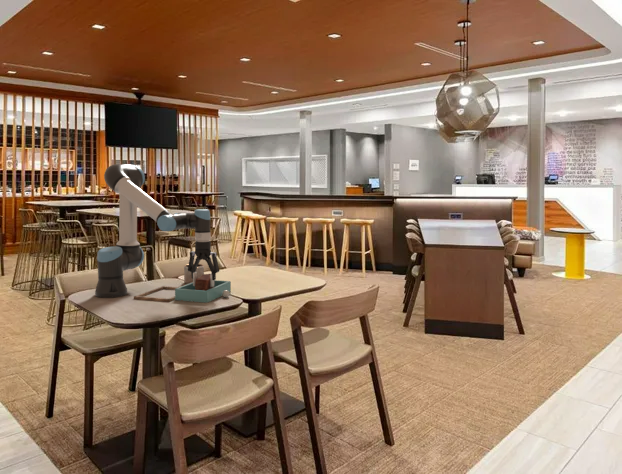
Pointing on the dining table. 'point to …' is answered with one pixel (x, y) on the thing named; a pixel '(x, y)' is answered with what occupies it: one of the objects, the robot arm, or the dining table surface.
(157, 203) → the robot arm
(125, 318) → the dining table surface
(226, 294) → the pebble
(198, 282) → the reddish brown block
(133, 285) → the dining table surface
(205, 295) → the dish
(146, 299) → the frame
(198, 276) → the planter
